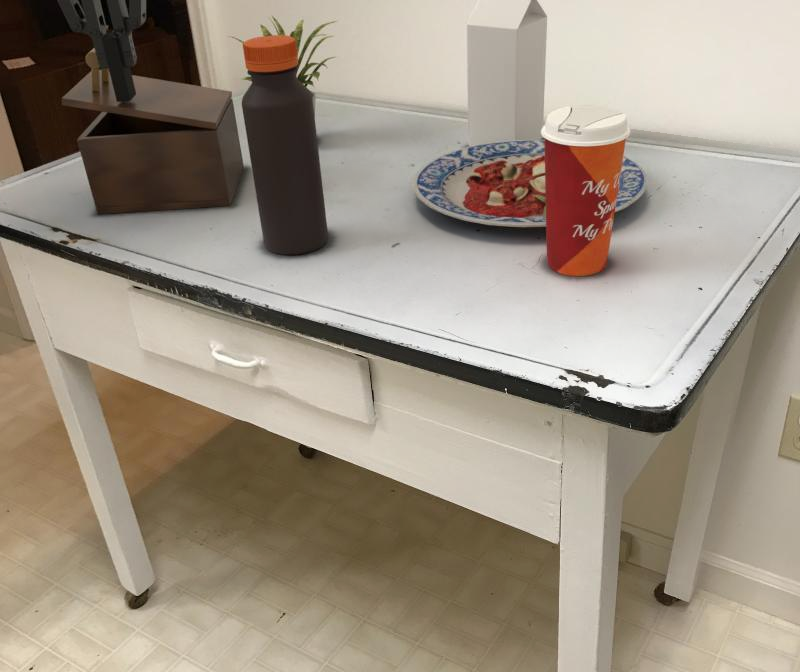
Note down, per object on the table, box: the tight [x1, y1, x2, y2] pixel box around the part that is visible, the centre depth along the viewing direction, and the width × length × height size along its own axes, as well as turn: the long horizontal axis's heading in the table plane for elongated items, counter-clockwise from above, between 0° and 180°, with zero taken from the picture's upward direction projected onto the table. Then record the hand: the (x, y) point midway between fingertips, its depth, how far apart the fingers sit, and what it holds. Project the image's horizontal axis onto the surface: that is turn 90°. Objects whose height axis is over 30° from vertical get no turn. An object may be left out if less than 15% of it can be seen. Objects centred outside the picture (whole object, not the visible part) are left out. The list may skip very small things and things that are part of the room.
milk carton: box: [466, 0, 548, 147], centre depth 106 cm, size 7×7×19 cm
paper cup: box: [541, 104, 631, 277], centre depth 78 cm, size 8×8×14 cm
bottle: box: [241, 34, 329, 256], centre depth 84 cm, size 7×7×20 cm
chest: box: [76, 98, 245, 215], centre depth 102 cm, size 16×13×9 cm
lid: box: [61, 47, 233, 129], centre depth 97 cm, size 16×13×5 cm
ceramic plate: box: [412, 139, 648, 228], centre depth 96 cm, size 26×26×3 cm
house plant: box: [227, 15, 338, 117], centre depth 112 cm, size 14×14×16 cm
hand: (126, 97), depth 94 cm, fingers closed
